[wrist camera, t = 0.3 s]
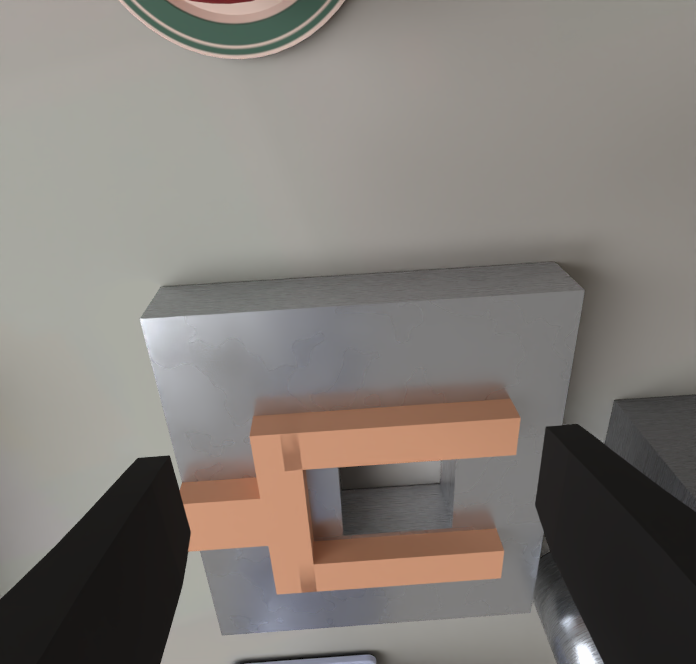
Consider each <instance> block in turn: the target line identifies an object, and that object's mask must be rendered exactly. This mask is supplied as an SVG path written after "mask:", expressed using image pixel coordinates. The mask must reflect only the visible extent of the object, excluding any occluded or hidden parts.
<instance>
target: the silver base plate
mask: <svg viewBox="0 0 696 664" xmlns="http://www.w3.org/2000/svg"><path fill="white" fill-rule="evenodd" d="M584 293H585V290H584V289H583V288H582V287H581V286H580V285H579V284H578V283H577V282H576V281H575V280H574V279H573V278H572V277H570V276H569V275H568V274H567V273H566V272H565V271H564V270H563V269H562V268H561V267H560V266H559V265H558V264H557V263H556V262H544V263H529V264H513V265H498V266H482V267H466V268H451V269H435V270H420V271H404V272H388V273H373V274H357V275H342V276H326V277H310V278H295V279H279V280H264V281H248V282H232V283H217V284H201V285H186V286H170V287H160V289H159V290H158V292H157V293H156V295H155V296H154V298H153V299H152V301H151V302H150V304H149V306H148V307H147V309H146V310H145V312H144V313H143V315H142V316H141V318H140V322H141V326H142V330H143V334H144V337H145V341H146V345H147V349H148V353H149V357H150V361H151V364H152V368H153V372H154V376H155V380H156V384H157V387H158V391H159V395H160V399H161V403H162V407H163V411H164V414H165V418H166V422H167V426H168V430H169V434H170V437H171V441H172V445H173V449H174V453H175V457H176V461H177V464H178V468H179V472H180V476H181V480H182V482H196V481H210V480H225V479H239V478H254V477H256V472H255V466H254V460H253V454H252V448H251V443H250V437H249V436H250V430H251V425H252V419H253V416H261V415H276V414H291V413H305V412H320V411H335V410H350V409H365V408H379V407H394V406H409V405H424V404H438V403H453V402H468V401H483V400H497V399H511V400H512V402H513V404H514V406H515V408H516V410H517V412H518V414H519V416H520V417H521V419H520V428H519V436H518V444H517V452H516V455H510V456H495V457H481V458H466V459H452V460H441V478H440V484H428V485H413V486H399V487H385V488H370V489H356V490H342V491H341V480H340V467H336V468H322V469H308V470H306V477H307V486H308V494H309V503H310V512H311V521H312V529H313V538H314V541H326V540H340V539H355V538H369V537H383V536H397V535H411V534H425V533H439V532H453V531H467V530H481V529H495V528H496V529H497V532H498V535H499V537H500V540H501V543H502V546H503V549H504V557H503V565H502V574H501V578H498V579H484V580H471V581H457V582H443V583H429V584H415V585H402V586H388V587H374V588H360V589H347V590H333V591H319V592H305V593H291V594H278V595H277V593H276V587H275V581H274V576H273V570H272V564H271V558H270V553H269V547H268V546H259V547H245V548H231V549H217V550H203V551H200V553H201V557H202V561H203V564H204V568H205V572H206V576H207V580H208V584H209V587H210V591H211V595H212V599H213V603H214V607H215V611H216V614H217V618H218V622H219V626H220V630H221V634H222V635H234V634H247V633H261V632H275V631H288V630H302V629H315V628H329V627H343V626H356V625H370V624H383V623H397V622H410V621H424V620H438V619H451V618H465V617H478V616H492V615H506V614H519V613H530V612H531V606H532V600H533V594H534V588H535V582H536V576H537V571H538V565H539V559H540V553H541V547H542V541H543V535H544V531H543V528H542V525H541V522H540V519H539V516H538V513H537V510H536V507H535V501H536V494H537V487H538V479H539V472H540V465H541V457H542V450H543V443H544V435H545V428H546V426H559V425H562V423H563V417H564V411H565V405H566V399H567V393H568V387H569V382H570V376H571V370H572V364H573V358H574V352H575V346H576V340H577V334H578V328H579V322H580V317H581V311H582V305H583V299H584Z"/></svg>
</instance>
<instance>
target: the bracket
mask: <svg viewBox="0 0 696 664" xmlns="http://www.w3.org/2000/svg"><path fill="white" fill-rule="evenodd" d="M520 419H521V417H520V416H519V414H518V412H517V410H516V408H515V406H514V404H513V402H512V400H511V399H497V400H483V401H468V402H453V403H438V404H424V405H409V406H394V407H379V408H365V409H350V410H335V411H320V412H305V413H291V414H276V415H261V416H253V419H252V425H251V430H250V436H249V437H250V443H251V448H252V454H253V460H254V466H255V472H256V477H254V478H239V479H225V480H210V481H196V482H182V485H181V488H180V494H181V498H182V501H183V505H184V509H185V512H186V516H187V519H188V523H189V527H190V530H191V536H190V542H189V549H188V552H189V551H203V550H217V549H231V548H245V547H259V546H268V547H269V553H270V558H271V564H272V570H273V576H274V581H275V587H276V593H277V595H278V594H291V593H305V592H319V591H333V590H347V589H360V588H374V587H388V586H402V585H415V584H429V583H443V582H457V581H471V580H484V579H498V578H501V574H502V565H503V557H504V549H503V546H502V543H501V540H500V537H499V535H498V532H497V529H496V528H495V529H481V530H467V531H453V532H439V533H425V534H411V535H397V536H383V537H369V538H355V539H340V540H326V541H314V538H313V529H312V521H311V512H310V503H309V494H308V486H307V477H306V470H308V469H322V468H336V467H351V466H365V465H380V464H394V463H409V462H423V461H438V460H452V459H466V458H481V457H495V456H510V455H516V452H517V444H518V436H519V428H520Z"/></svg>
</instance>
